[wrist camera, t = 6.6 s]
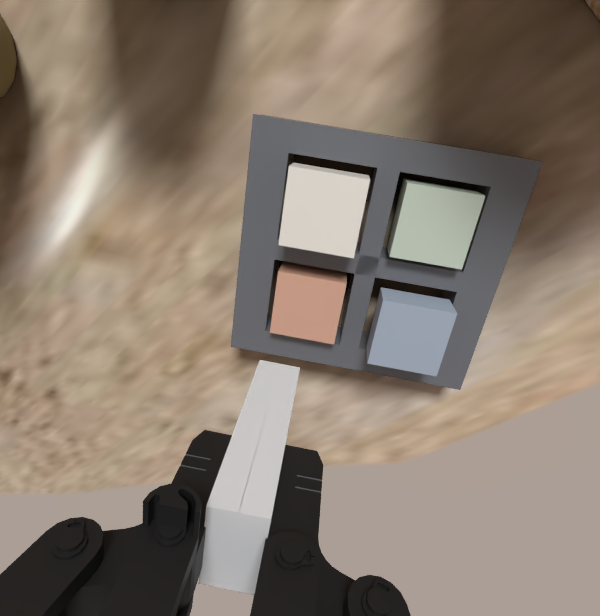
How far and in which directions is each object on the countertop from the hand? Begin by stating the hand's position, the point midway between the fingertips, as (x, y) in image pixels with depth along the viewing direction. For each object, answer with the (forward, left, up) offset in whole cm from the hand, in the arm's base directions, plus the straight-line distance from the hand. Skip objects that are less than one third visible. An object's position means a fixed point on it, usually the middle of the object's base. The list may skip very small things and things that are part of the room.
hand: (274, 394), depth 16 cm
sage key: (+6, +5, -13) cm, 16 cm away
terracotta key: (0, -1, -13) cm, 13 cm away
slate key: (+6, -1, -12) cm, 13 cm away
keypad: (+3, +2, -13) cm, 14 cm away
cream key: (0, +5, -12) cm, 13 cm away
